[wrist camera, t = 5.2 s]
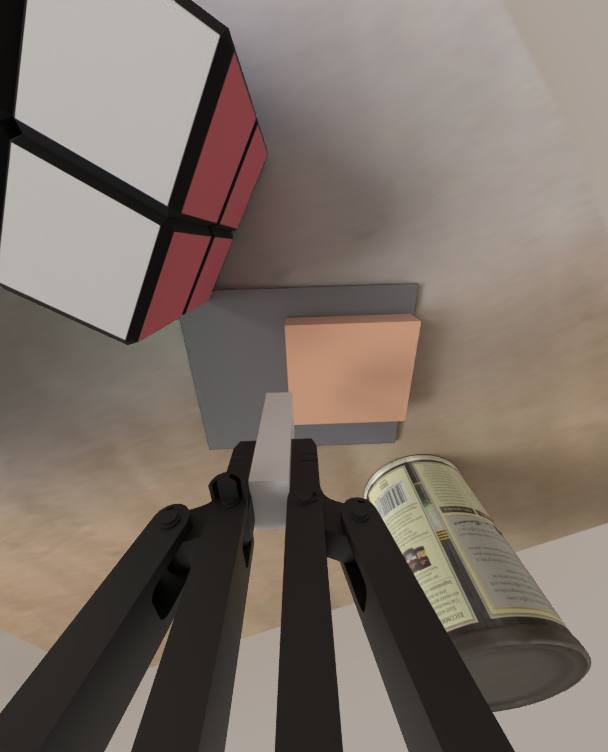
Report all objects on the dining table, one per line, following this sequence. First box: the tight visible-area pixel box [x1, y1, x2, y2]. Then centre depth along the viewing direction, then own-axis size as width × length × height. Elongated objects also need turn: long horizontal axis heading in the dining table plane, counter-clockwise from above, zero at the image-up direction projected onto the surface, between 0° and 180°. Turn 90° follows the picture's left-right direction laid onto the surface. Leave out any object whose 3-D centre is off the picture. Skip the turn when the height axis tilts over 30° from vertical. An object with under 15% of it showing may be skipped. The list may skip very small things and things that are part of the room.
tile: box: [285, 314, 421, 425], centre depth 21 cm, size 2×8×9 cm
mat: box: [179, 283, 418, 450], centre depth 23 cm, size 17×14×1 cm
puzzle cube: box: [0, 0, 268, 345], centre depth 12 cm, size 10×10×10 cm
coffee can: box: [364, 455, 591, 712], centre depth 23 cm, size 10×10×14 cm
